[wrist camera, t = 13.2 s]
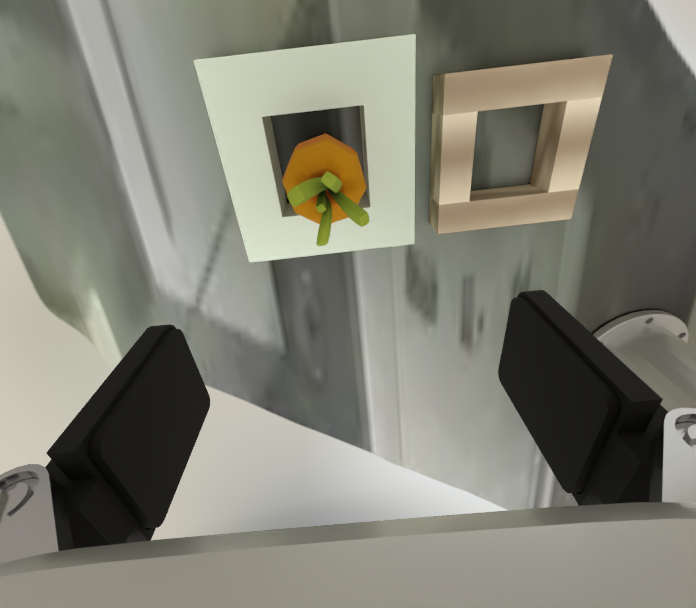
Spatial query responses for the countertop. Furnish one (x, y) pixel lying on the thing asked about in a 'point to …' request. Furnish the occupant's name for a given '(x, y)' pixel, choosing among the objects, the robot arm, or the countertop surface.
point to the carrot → (325, 184)
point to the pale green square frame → (311, 95)
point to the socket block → (551, 152)
